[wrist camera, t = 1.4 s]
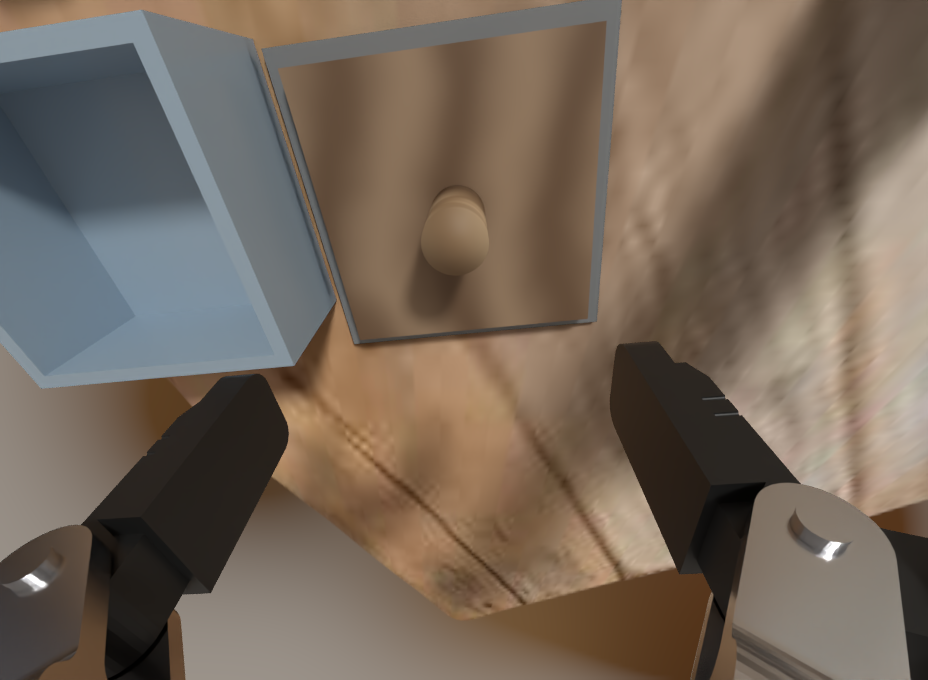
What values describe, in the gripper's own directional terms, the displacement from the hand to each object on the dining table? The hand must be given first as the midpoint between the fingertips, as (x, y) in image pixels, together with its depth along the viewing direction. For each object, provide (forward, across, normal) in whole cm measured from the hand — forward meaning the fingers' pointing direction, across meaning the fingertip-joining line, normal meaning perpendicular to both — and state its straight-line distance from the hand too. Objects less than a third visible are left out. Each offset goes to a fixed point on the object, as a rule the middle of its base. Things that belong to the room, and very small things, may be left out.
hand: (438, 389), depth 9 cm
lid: (+18, 0, 0) cm, 18 cm away
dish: (+18, +17, -2) cm, 25 cm away
